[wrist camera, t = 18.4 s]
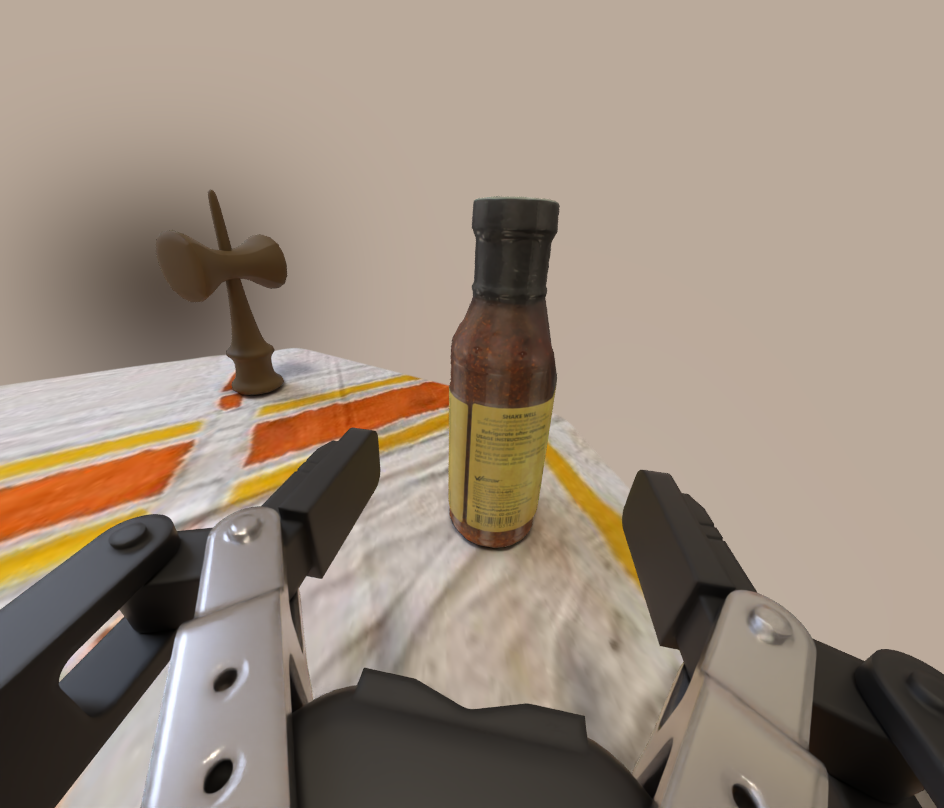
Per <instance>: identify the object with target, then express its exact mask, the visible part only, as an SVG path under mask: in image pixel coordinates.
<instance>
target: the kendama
mask: <svg viewBox="0 0 944 808" xmlns="http://www.w3.org/2000/svg"><path fill="white" fill-rule="evenodd" d="M208 198H209V203H210V209H211V214H212V218H213V223H214V228H215V232H216V236H217V241H218V246H219V250H213V249H209V248H208V247H206V246H204V245H202V244H201V243H199V242H197V241H196V240H194V239H192V238H190V237H189V236H187V235H184V234H182V233H179V232H176V231H173V230H169V231H164V232H161V233H160V235H159V236H158V237H157V239H156V241H157V242H156V254H157V258H158V263H159V266H160V268H161V271H162V273H163V275H164V277H165V279H166V280H167V282H168V283H169V285H170V286H171V288H172V289H173V290H174V291H175V292H176V293H177V294H178V295H179V296H181V297H182V298H183V299H186V300H188V301H190V302H203V301H204V300H206V299H207V298H208V297H209V296H210V295H211V294H212V293H213V292H214V291H215V290H216V289H217V287H218V286H219V285H220V284H221V283H222V282H224V281H226V285H227V291H228V297H229V306H230V315H231V325H232V342H231V346H230V347H229V349H228V350H227V351H226V355H227V356H228V357H229V358H231V359H232V360H233V361H234V364H235V368H236V377H235V379H234V381H233V382H232V388H233V390H234V391H236V392H238V393H240V394H246V395H257V394H263V393H267V392H270V391H273V390H275V389H277V388H279V387H280V386H281V385H282V384H283V382H284V380H283V378H282V376H281V375H279V374H277V373H276V372H275V371H274V369H273V366H272V362H271V356H272V354H273V352H274V348H273V346H272V345H270V344H268V343H266V341H265V340H264V339H263V337H262V335H261V333H260V331H259V329H258V327H257V324H256V322H255V319H254V317H253V314H252V312H251V310H250V306H249V304H248V301H247V298H246V295H245V292H244V289H243V286H242V283H241V280H240V279H247V280H250V281H253V282H255V283H257V284H260V285H262V286H264V287H267V288H271V289H272V288H279V287H281V286H282V285H283V284H285V280H286V277H287V265H286V261H285V258H284V254H283V252H282V250H281V249H280V247H279V245H278V244H277V243H276V242H275V241H274V240H272V239H271V238H270V237H267V236H264V235H260V234H259V235H253V236H251V237H249V238H248V239H247V240H246V241H244V243H242V244H241V245H240V246H238V247H236V248H234V249H232V248H231V245H230V241H229V237H228V234H227V230H226V226H225V223H224V219H223V215H222V212H221V208H220V205H219V202H218V199H217V196H216V194H215V192H214V191H213V190H209V191H208Z"/></svg>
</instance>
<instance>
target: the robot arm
mask: <svg viewBox="0 0 944 808" xmlns="http://www.w3.org/2000/svg"><path fill="white" fill-rule="evenodd" d="M379 478H380V458H379V445H378V435H377V432H376V431H373V430H366V429H359V428H350V429H349V430H348V431H347V432H346V433H345V434H344V435H343V437H342V438H341V439H340V440H339V441H331V442H329V443H327V444H326V445H324V446H322V447H320V448H318V449H317V450H316V451H315V452H314V453H313V454H312V455H311V456H310V457H309V458H308V459H307V461H306V462H304V463H303V464H302V465H301V466H300V467H299V468H298V471H297V472H296V471H295V472H294V473H293V474H292V475H291V476H290V477H289V478H288V479H287V480H286V481H285V482H284V484H283V485H282V486H281V487H280V488H279V489H278V490H277V491H276V492H275V493H274V494H273V495H272V496H271V497H270V498H269V499H268V500H267V501H266V502H265V503H264V504H263V505H262V506H261V507H250V508H246V509H243V510H240V511H237V512H235V513H233V514H231V515H229V516H227V517H226V518H224V519H223V520H221V521H220V522H219V523H218V524H217V525H216V526H215V527H214V528H206V529H195V530H185V531H176V529H175V526H174V524H173V522H172V520H171V519H170V518H169V517H167V516H165V515H158V514H152V515H144V516H140V517H136V518H133V519H130V520H127V521H124V522H122V523H120V524H118V525H116V526H114V527H112V528H110V529H108V530H107V531H105V532H104V533H102V534H101V535H99V536H98V537H97V538H95V539H94V540H93V541H91V542H90V543H89V544H87V545H86V546H85V547H83V548H82V549H81V550H79V551H78V552H77V553H75V554H74V555H73V556H71V557H70V558H69V559H67V560H66V561H65V562H63V563H62V564H61V565H59V566H58V567H57V568H55V569H54V570H53V571H51V572H50V573H49V574H47V575H46V576H45V577H43V578H42V579H41V580H39V581H38V582H37V583H35V584H34V585H33V586H31V587H30V588H29V589H27V590H26V591H25V592H23V593H22V594H21V595H19V596H18V597H17V598H15V599H14V600H13V601H11V602H10V603H9V604H7V605H6V606H5V607H3V608H2V609H1V610H0V808H55V807H56V805H57V804H58V803H59V801H60V800H61V799H62V798H63V796H64V795H65V794H66V793H67V791H68V790H69V789H70V787H71V786H72V785H73V784H74V782H75V781H76V780H77V778H78V777H79V776H80V775H81V773H82V772H83V771H84V770H85V768H86V767H87V766H88V764H89V763H90V762H91V761H92V759H93V758H94V757H95V755H96V754H97V753H98V752H99V750H100V749H101V748H102V747H103V745H104V744H105V743H106V741H107V740H108V739H109V738H110V736H111V735H112V734H113V732H114V731H115V730H116V729H117V727H118V726H119V725H120V724H121V722H122V721H123V720H124V718H125V717H126V716H127V715H128V713H129V712H130V711H131V709H132V708H133V707H134V706H135V704H136V703H137V702H138V701H139V699H140V698H141V697H142V695H143V694H144V693H145V692H146V690H147V689H148V688H149V686H150V685H151V684H152V683H153V681H154V680H155V679H156V677H157V676H158V675H159V674H160V672H161V671H162V670H163V669H164V667H165V666H166V665H167V663H168V662H169V661H170V665H169V670H168V675H167V680H166V685H165V690H164V695H163V700H162V705H161V710H160V715H159V720H158V725H157V730H156V735H155V739H154V744H153V749H152V754H151V759H150V764H149V769H148V774H147V779H146V784H145V789H144V794H143V799H142V804H141V808H922V807H921V805H920V804H919V802H918V801H917V799H916V797H915V796H914V795H915V794H917V793H919V792H921V791H923V790H926V791H927V793H928V794H929V796H930V797H931V799H932V800H933V802H934V803H935V805H936V806H937V808H944V674H942V673H941V672H939V671H938V670H936V669H934V668H933V667H931V666H930V665H928V664H926V663H924V662H923V661H921V660H919V659H916V658H914V657H912V656H910V655H907V654H905V653H902V652H899V651H895V650H889V649H881V650H878V651H876V652H875V653H874V654H872V655H871V656H870V657H869V658H868V659H867V660H866V661H863V660H861V659H858V658H856V657H854V656H852V655H849V654H847V653H845V652H842V651H840V650H838V649H835V648H833V647H831V646H828V645H826V644H824V643H821V642H819V641H817V640H815V639H812V637H811V636H810V634H809V633H808V631H807V629H806V628H805V627H804V626H803V625H802V623H801V622H800V621H799V620H798V619H797V618H796V617H795V616H794V615H793V614H791V613H790V612H789V611H788V610H786V609H785V608H784V607H783V606H781V605H780V604H778V603H777V602H775V601H773V600H772V599H770V598H768V597H766V596H763V595H761V594H759V593H757V591H756V590H755V588H754V586H753V585H752V583H751V582H750V580H749V579H748V577H747V575H746V574H745V572H744V571H743V569H742V567H741V566H740V564H739V563H738V561H737V560H736V558H735V556H734V555H733V553H732V552H731V550H730V549H729V547H728V546H727V544H726V542H725V541H723V540H722V539H723V537H722V536H721V534H720V533H719V531H718V530H717V528H715V527H714V523H713V522H712V520H711V519H710V517H709V515H708V514H707V512H706V511H705V509H704V508H703V507H702V506H701V505H700V504H699V503H697V502H696V501H695V500H694V499H693V498H692V497H691V496H690V495H689V494H684V493H681V491H680V490H679V488H678V486H677V484H676V483H675V481H674V480H673V478H672V476H671V475H670V474H668V473H661V472H654V471H647V470H640V471H638V473H637V475H636V477H635V480H634V482H633V485H632V488H631V490H630V493H629V496H628V498H627V501H626V504H625V506H624V510H623V516H622V524H623V530H624V533H625V536H626V540H627V543H628V546H629V549H630V552H631V556H632V559H633V562H634V565H635V568H636V571H637V575H638V578H639V581H640V584H641V587H642V590H643V594H644V597H645V600H646V603H647V606H648V609H649V613H650V616H651V619H652V622H653V625H654V629H655V632H656V635H657V638H658V641H659V644H660V646H663V647H668V648H673V649H678V650H680V653H681V655H682V658H683V661H684V662H683V663H682V665H681V666H680V668H679V670H678V672H677V675H676V677H675V680H674V682H673V684H672V687H671V689H670V692H669V694H668V696H667V699H666V701H665V704H664V706H663V708H662V711H661V713H660V716H659V718H658V721H657V723H656V725H655V728H654V730H653V733H652V735H651V737H650V739H649V741H648V743H647V745H646V747H645V749H644V751H643V753H642V755H641V756H640V758H639V760H638V762H637V764H636V766H635V768H634V770H633V772H632V774H631V773H630V772H629V771H628V770H627V768H626V767H625V766H624V765H623V764H622V763H621V762H619V761H618V760H617V759H616V758H615V757H614V756H613V755H612V754H611V753H610V752H608V751H607V750H606V749H604V748H603V747H601V746H600V745H599V744H597V743H596V742H595V741H593V740H591V739H589V738H588V737H587V732H586V723H585V716H582V715H578V714H573V713H569V712H564V711H560V710H555V709H551V708H546V707H541V706H537V705H532V704H518V705H509V706H500V707H491V708H482V709H467V708H464V707H462V706H461V705H459V704H457V703H455V702H454V701H452V700H450V699H449V698H447V697H445V696H444V695H442V694H440V693H439V692H437V691H435V690H433V689H432V688H430V687H428V686H427V685H425V684H423V683H422V682H420V681H418V680H417V679H414V678H409V677H405V676H400V675H396V674H391V673H386V672H382V671H377V670H373V669H368V668H364V669H363V671H362V674H361V677H360V679H359V682H358V685H356V686H349V687H345V688H341V689H337V690H334V691H332V692H329V693H327V694H324V695H322V696H320V697H318V698H316V699H314V700H313V694H312V688H311V682H310V677H309V672H308V665H307V658H306V648H305V638H304V628H303V618H302V608H301V598H300V591H299V587H300V585H301V584H302V582H303V580H304V579H305V577H306V576H310V577H315V578H320V579H322V578H323V576H324V575H325V573H326V571H327V570H328V568H329V566H330V565H331V563H332V561H333V560H334V558H335V556H336V555H337V553H338V551H339V550H340V548H341V546H342V545H343V543H344V541H345V540H346V538H347V536H348V535H349V533H350V531H351V530H352V528H353V526H354V525H355V523H356V521H357V520H358V518H359V516H360V514H361V513H362V511H363V509H364V508H365V506H366V504H367V503H368V501H369V499H370V498H371V496H372V494H373V493H374V491H375V489H376V487H377V485H378V482H379ZM119 609H120V611H121V612H122V614H123V615H124V618H123V619H122V620H121V621H120V622H119V623H118V624H117V625H116V626H115V627H114V628H113V629H112V630H111V631H110V632H109V633H108V634H107V635H106V636H105V637H104V638H103V639H102V640H101V641H100V642H99V643H98V644H97V645H96V646H95V647H94V648H93V649H92V650H91V651H90V652H89V653H88V654H87V655H86V656H85V657H84V658H83V659H82V660H81V661H80V662H79V663H78V664H77V665H76V666H75V667H74V668H73V669H72V670H71V671H70V672H69V673H68V674H67V675H66V676H65V677H64V678H63V679H62V680H61V681H60V682H59V677H60V674H61V671H62V669H63V668H64V666H65V664H66V663H67V661H68V660H69V659H70V657H71V656H72V655H73V654H74V653H75V652H76V651H77V650H78V649H79V648H80V647H81V646H82V645H83V644H84V643H85V642H86V641H87V640H88V639H89V638H90V637H91V636H92V635H93V634H94V633H95V632H96V631H97V630H99V629H100V628H101V627H102V626H103V625H104V624H105V623H106V622H107V621H108V620H109V619H110V618H111V617H112V616H113V615H114V614H115V613H116V612H117V611H118V610H119Z"/></svg>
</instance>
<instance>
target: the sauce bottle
mask: <svg viewBox="0 0 944 808" xmlns="http://www.w3.org/2000/svg"><path fill="white" fill-rule="evenodd" d="M558 215H559V204H558V203H557V202H556V201H553V200H549V199H539V198H527V197H498V196H496V197H487V198H478V199H476V200H475V201H474V204H473V217H472V229H473V231H474V234H475V237H476V250H475V275H474V283H473V285H472V290H473V298H472V301H471V304H470V306H469V308H468V311H467V313H466V316H465V318H464V320H463V321H462V322H461V323H460V325H459V327H458V329H457V331H456V333H455V334H454V336H453V339H452V345H451V382H450V385H449V506H450V517H451V519H452V521H453V524H454V526H455V527H456V528H457V530H458V531H459V532H460V533H461V534H462V535H463V536H464V538H466V539H467V540H468V541H470V542H473V543H475V544H477V545H482V546H489V547H492V548H499V547H505V546H509V545H514V544H515V543H516V542H518V541H520V540H522V539H523V537H524V536H525V535H527V534H528V532H529V530H530V528H531V527H532V522H533V516H534V514H535V513H536V510H537V506H538V500H539V494H540V488H541V481H542V474H543V468H544V461H545V454H546V448H547V442H548V435H549V429H550V423H551V416H552V409H553V402H554V396H555V390H556V382H557V374H556V367H555V358H554V352H553V349H552V346H551V338H550V330H549V323H548V315H547V307H546V300H545V297H546V294H547V288H546V282H547V273H548V268H549V258H550V251H551V242H552V240H553V238H554V237H555V235H556V233H557V230H558Z"/></svg>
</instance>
